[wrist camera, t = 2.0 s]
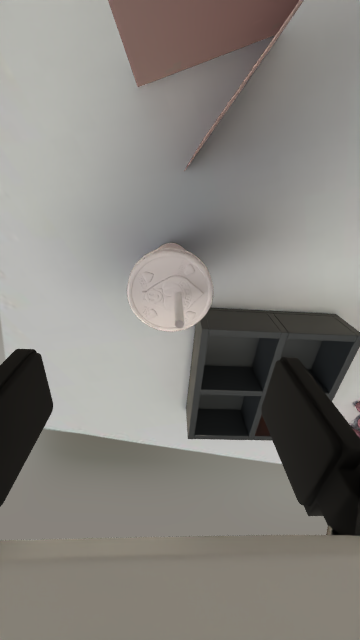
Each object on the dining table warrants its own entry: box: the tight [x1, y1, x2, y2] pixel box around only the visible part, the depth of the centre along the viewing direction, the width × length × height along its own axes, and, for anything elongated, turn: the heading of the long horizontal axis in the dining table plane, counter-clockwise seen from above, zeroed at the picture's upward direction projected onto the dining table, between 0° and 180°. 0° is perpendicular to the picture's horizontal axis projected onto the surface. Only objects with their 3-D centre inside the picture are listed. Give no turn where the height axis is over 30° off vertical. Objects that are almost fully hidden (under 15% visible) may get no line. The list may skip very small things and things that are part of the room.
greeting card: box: [108, 0, 304, 171], centre depth 13 cm, size 11×7×15 cm, turn 106°
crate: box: [186, 308, 360, 440], centre depth 31 cm, size 17×17×5 cm
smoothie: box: [127, 243, 213, 332], centre depth 20 cm, size 6×6×14 cm
